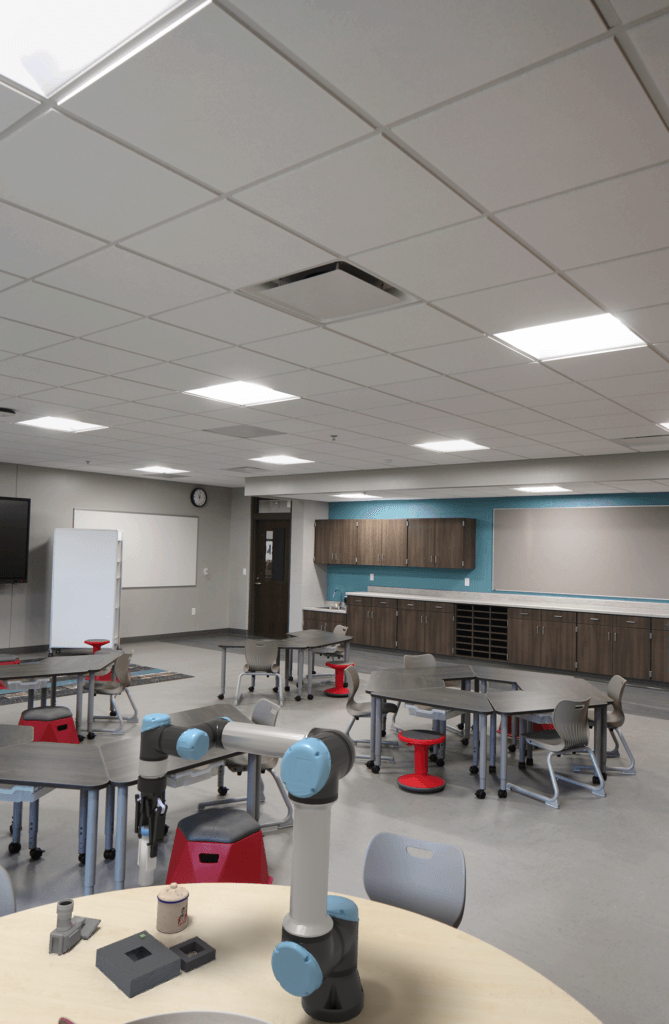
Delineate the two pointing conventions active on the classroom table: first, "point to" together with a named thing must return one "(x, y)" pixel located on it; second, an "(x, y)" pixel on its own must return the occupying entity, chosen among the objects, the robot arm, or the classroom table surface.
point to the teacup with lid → (172, 909)
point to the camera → (69, 928)
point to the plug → (144, 859)
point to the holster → (197, 960)
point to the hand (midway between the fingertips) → (146, 866)
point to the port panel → (137, 963)
